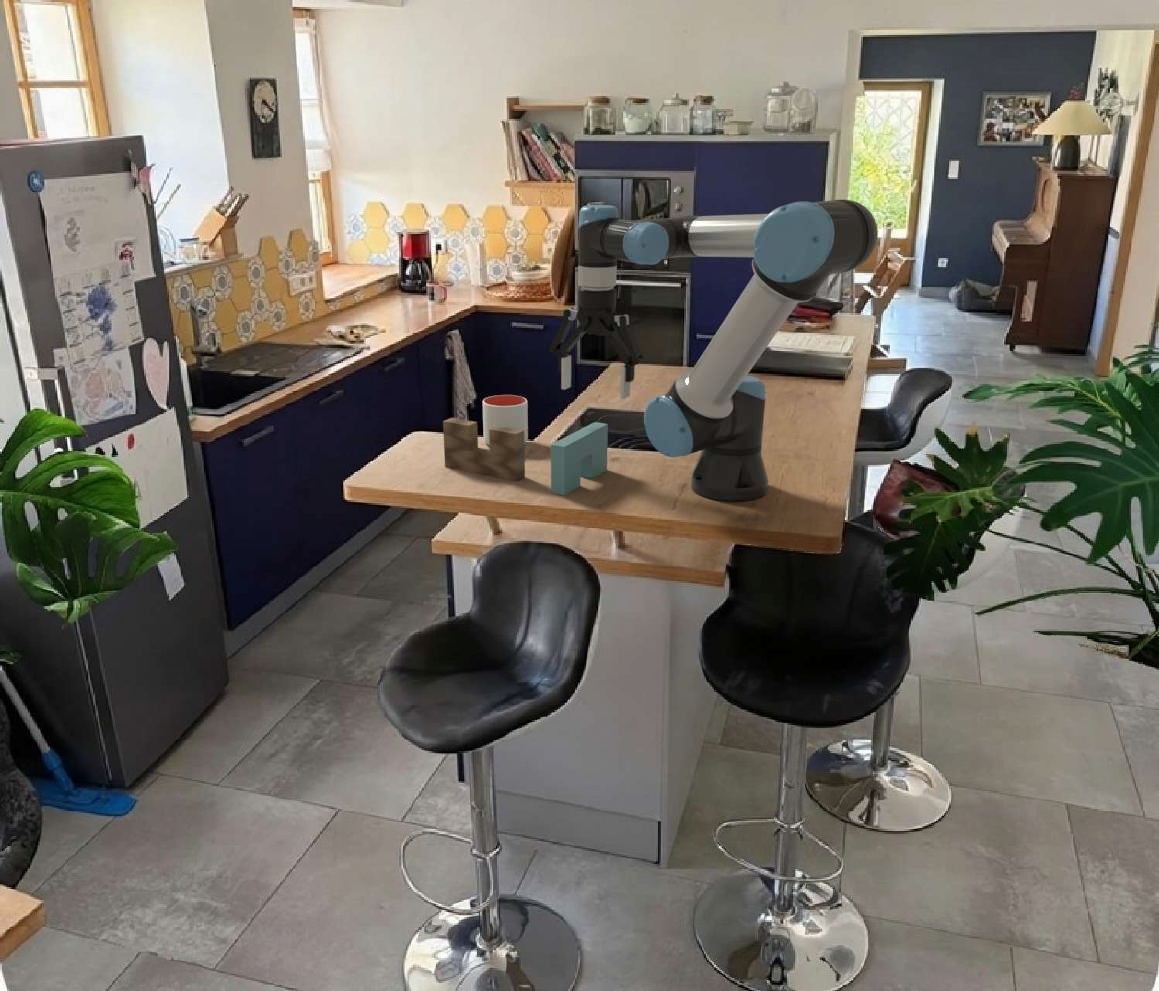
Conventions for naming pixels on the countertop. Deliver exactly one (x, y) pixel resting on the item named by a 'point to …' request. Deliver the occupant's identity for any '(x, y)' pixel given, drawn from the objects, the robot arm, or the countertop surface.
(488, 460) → the u-notched wood block
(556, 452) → the teal arch piece
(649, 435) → the robot arm
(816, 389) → the countertop surface
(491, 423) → the cup
